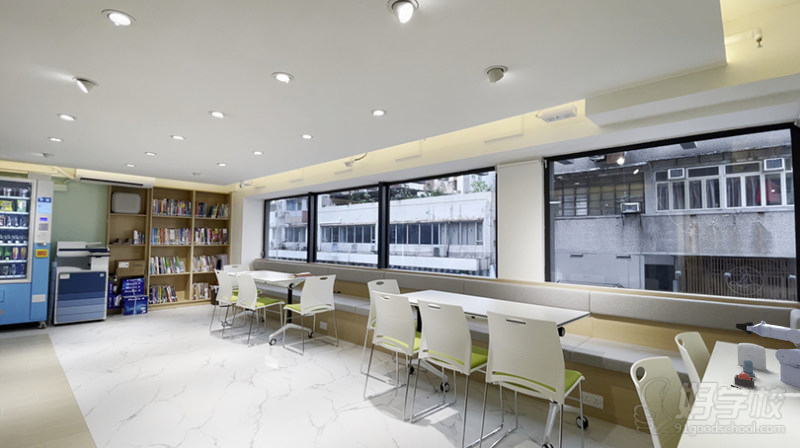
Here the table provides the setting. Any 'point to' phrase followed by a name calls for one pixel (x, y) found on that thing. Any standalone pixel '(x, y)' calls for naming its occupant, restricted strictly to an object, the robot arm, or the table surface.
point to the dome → (744, 376)
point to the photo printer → (752, 355)
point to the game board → (744, 382)
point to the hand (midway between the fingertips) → (743, 326)
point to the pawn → (748, 368)
